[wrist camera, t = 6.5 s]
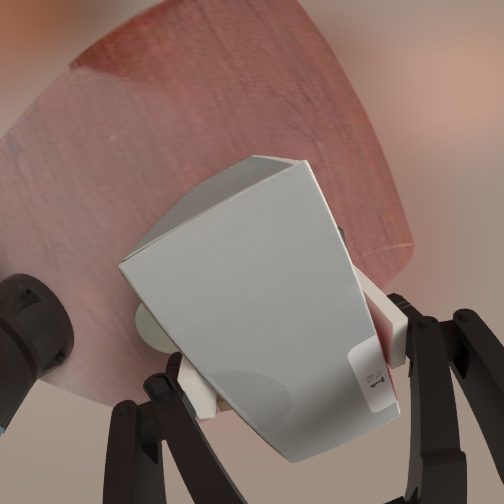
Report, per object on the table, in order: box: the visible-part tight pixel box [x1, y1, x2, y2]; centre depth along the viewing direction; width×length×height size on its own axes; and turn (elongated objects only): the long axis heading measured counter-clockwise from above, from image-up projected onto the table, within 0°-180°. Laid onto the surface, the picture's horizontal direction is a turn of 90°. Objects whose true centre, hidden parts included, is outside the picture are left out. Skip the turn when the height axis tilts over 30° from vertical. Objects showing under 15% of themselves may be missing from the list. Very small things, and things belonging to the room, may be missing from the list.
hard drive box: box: [119, 155, 401, 463], centre depth 21 cm, size 16×8×20 cm, turn 28°
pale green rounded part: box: [135, 303, 179, 354], centre depth 30 cm, size 7×7×7 cm
